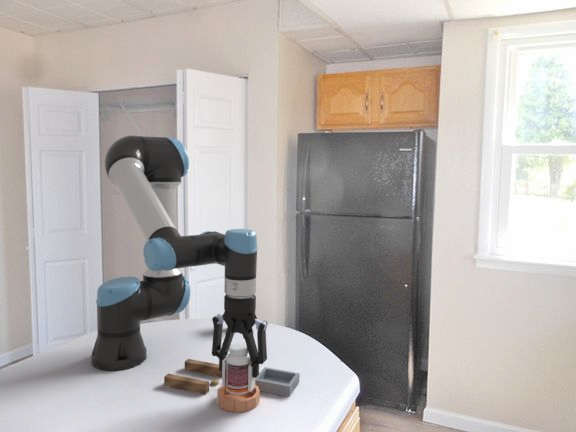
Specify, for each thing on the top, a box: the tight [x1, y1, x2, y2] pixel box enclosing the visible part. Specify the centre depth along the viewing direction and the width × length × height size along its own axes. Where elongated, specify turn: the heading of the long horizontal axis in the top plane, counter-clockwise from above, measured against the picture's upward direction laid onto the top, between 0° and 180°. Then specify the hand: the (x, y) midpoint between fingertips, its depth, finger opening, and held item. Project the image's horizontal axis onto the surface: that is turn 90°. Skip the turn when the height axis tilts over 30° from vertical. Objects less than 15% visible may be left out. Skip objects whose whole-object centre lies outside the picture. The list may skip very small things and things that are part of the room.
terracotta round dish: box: [216, 384, 261, 413], centre depth 115 cm, size 10×10×3 cm
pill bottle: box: [226, 342, 251, 395], centre depth 114 cm, size 6×6×11 cm
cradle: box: [163, 358, 222, 395], centre depth 125 cm, size 12×12×2 cm
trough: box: [255, 366, 301, 397], centre depth 123 cm, size 10×8×3 cm
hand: (238, 386), depth 114 cm, fingers closed on pill bottle, 6 cm apart
